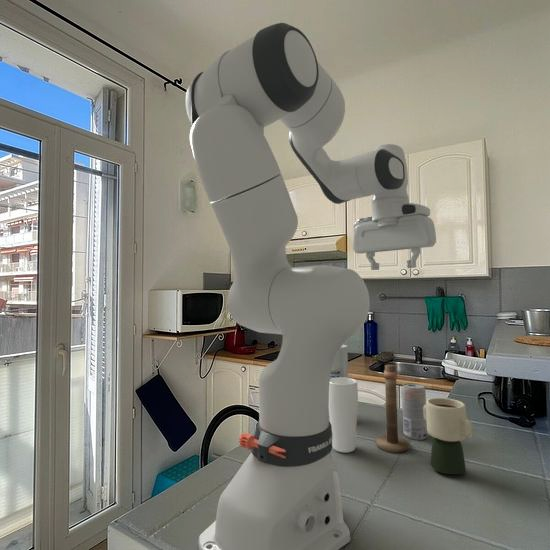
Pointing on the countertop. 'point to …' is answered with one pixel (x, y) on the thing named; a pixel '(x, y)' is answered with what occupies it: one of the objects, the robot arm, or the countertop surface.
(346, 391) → the white tumbler
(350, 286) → the robot arm
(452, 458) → the character mug
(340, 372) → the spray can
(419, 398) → the energy drink
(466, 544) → the countertop surface
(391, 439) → the post
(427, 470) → the countertop surface
